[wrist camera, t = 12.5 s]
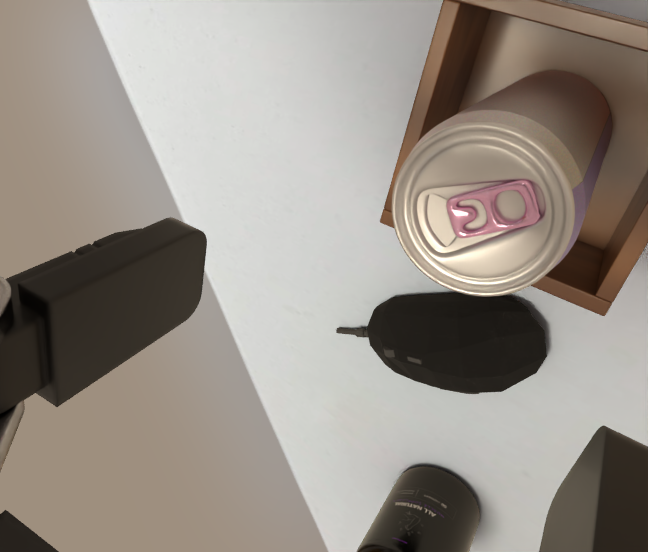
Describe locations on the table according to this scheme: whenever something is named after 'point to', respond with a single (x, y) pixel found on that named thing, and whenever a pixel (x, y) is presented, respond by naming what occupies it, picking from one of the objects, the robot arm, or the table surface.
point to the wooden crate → (553, 55)
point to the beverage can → (503, 185)
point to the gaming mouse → (457, 340)
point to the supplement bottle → (424, 515)
